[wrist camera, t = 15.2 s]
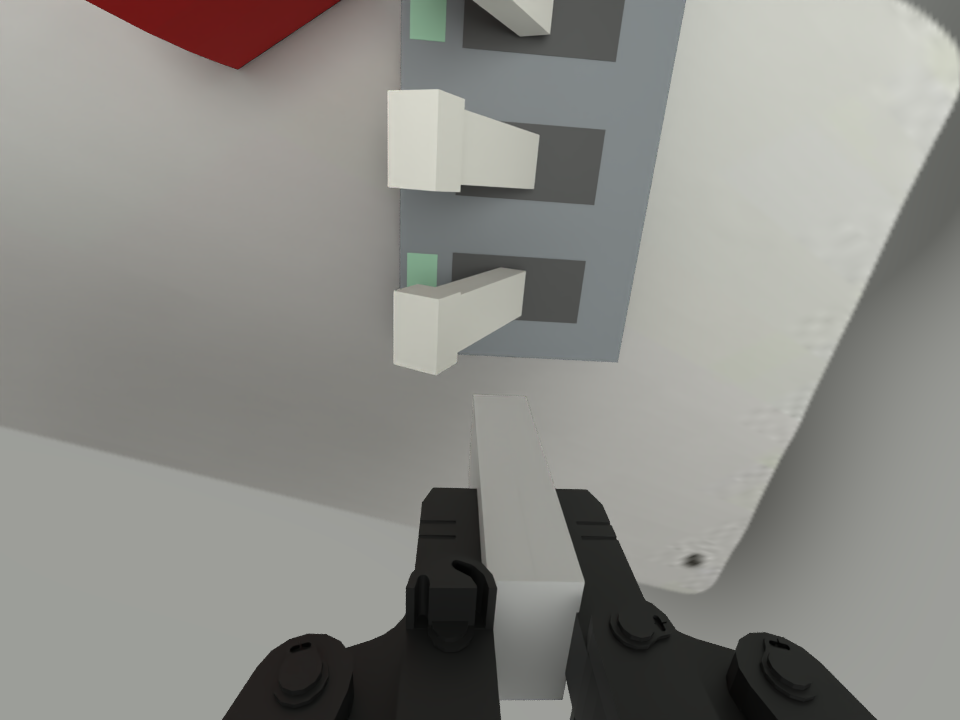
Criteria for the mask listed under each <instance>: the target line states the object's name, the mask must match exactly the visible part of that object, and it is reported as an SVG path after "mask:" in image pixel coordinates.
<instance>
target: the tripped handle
mask: <svg viewBox="0 0 960 720" xmlns="http://www.w3.org/2000/svg"><path fill="white" fill-rule="evenodd" d="M525 276H526V271H523V270H516V269H509V268H503V267H500V268H497V269H493V270H490V271H487V272H483V273H480V274H477V275H474V276H470V277H467V278H464V279H461V280H457V281H454V282H451V283H447V284H444V285H441V286H438V287H432V286H426V285H421V284H416V285H413V286H409V287H405V288H402V289H398V290H394V303H393V364H394V365H398V366H402V367H406V368H409V369H413V370H417V371H421V372H424V373H428V374H432V375H438V374H440V373H441V372H443V371H444V370H446V369H448V368H449V367H451V366H452V365H454V364H456V363H457V353H458V352H459V351H461V350H463V349H465V348H466V347H468V346H470V345H471V344H473V343H475V342H477V341H478V340H480V339H482V338H484V337H485V336H487V335H489V334H490V333H492V332H494V331H496V330H497V329H499V328H501V327H502V326H504V325H506V324H508V323H509V322H511V321H513V320H515V319H516V318H518V317H520V316H521V314H522V305H523V295H524V285H525Z"/></svg>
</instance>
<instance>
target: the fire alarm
mask: <svg viewBox="0 0 960 720" xmlns="http://www.w3.org/2000/svg"><path fill="white" fill-rule="evenodd" d="M86 1H88V2H90V3H92V4H94V5H96V6H97V7H99V8H101V9H103V10H105V11H107V12H109V13H111V14H113V15H115V16H117V17H119V18H121V19H122V20H124V21H126V22H128V23H130V24H132V25H134V26H136V27H138V28H140V29H142V30H144V31H146V32H148V33H150V34H152V35H154V36H157V37H159V38H161V39H163V40H165V41H168V42H170V43H172V44H174V45H176V46H179V47H181V48H183V49H185V50H187V51H190V52H192V53H195V54H197V55H200V56H202V57H205V58H207V59H210V60H213V61H215V62H218V63H221V64H224V65H226V66H229V67H232V68H235V69H239V68H241V67H242V66H244V65H245V64H247V63H248V62H249V61H251V60H252V59H254V58H255V57H257V56H258V55H260V54H261V53H263V52H264V51H266V50H267V49H269V48H270V47H272V46H273V45H275V44H276V43H278V42H279V41H281V40H282V39H284V38H285V37H287V36H288V35H290V34H291V33H293V32H294V31H296V30H297V29H299V28H300V27H302V26H303V25H305V24H306V23H308V22H309V21H311V20H312V19H314V18H315V17H317V16H318V15H320V14H321V13H323V12H324V11H326V10H327V9H329V8H330V7H332V6H333V5H334V4H336V3H337V2H339V1H340V0H86Z"/></svg>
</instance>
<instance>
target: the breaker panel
mask: <svg viewBox="0 0 960 720" xmlns="http://www.w3.org/2000/svg"><path fill="white" fill-rule="evenodd" d="M685 3H686V0H554V1H553V11H552V21H551V30H550V34H549V35H535V36H521V37H520V36H519V35H517V34H516V33H515V32H513V31H512V30H511V29H509V28H508V27H507V26H506V25H504V24H503V23H502V22H500V21H499V20H498V19H496V18H495V17H494V16H492V15H491V14H490V13H489V12H487V11H486V10H485V9H483V8H482V7H481V6H479V5H478V4H477V3H475V2H474V1H473V0H401V90H426V89H440V90H442V91H445V92H447V93H450V94H453V95H455V96H458V97H461V98H463V99H465V109H464V110H467V111H470V112H473V113H476V114H479V115H482V116H485V117H488V118H491V119H494V120H497V121H500V122H503V123H506V124H509V125H512V126H515V127H517V128H520V129H523V130H526V131H529V132H532V133H535V134H538V135H540V136H539V146H538V155H537V165H536V175H535V184H534V189H522V188H505V187H489V186H473V185H461V188H460V192H441V191H426V190H415V189H403V188H400V289H402V288H405V287H409V286H413V285H416V284H421V285H426V286H432V287H438V286H441V285H444V284H447V283H451V282H454V281H457V280H461V279H464V278H467V277H470V276H474V275H477V274H480V273H483V272H487V271H490V270H493V269H497V268H500V267H503V268H509V269H516V270H523V271H526V276H525V285H524V295H523V305H522V314H521V316H520V317H518V318H516V319H515V320H513V321H511V322H509V323H508V324H506V325H504V326H502V327H501V328H499V329H497V330H496V331H494V332H492V333H490V334H489V335H487V336H485V337H484V338H482V339H480V340H478V341H477V342H475V343H473V344H471V345H470V346H468V347H466V348H465V349H463V350H461V351H459V352H458V353H457V354H463V355H483V356H503V357H522V358H542V359H562V360H582V361H601V362H618V358H619V352H620V347H621V342H622V337H623V331H624V326H625V321H626V315H627V310H628V305H629V300H630V294H631V289H632V284H633V278H634V273H635V268H636V262H637V257H638V252H639V247H640V241H641V236H642V231H643V225H644V220H645V215H646V209H647V204H648V199H649V194H650V188H651V183H652V178H653V172H654V167H655V162H656V157H657V151H658V146H659V141H660V135H661V130H662V125H663V119H664V114H665V109H666V104H667V98H668V93H669V88H670V82H671V77H672V72H673V67H674V61H675V56H676V51H677V45H678V40H679V35H680V29H681V24H682V19H683V14H684V8H685Z"/></svg>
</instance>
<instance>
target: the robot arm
mask: <svg viewBox="0 0 960 720" xmlns="http://www.w3.org/2000/svg"><path fill="white" fill-rule="evenodd" d="M566 681H567V685H568V690H569V694H570V699H571V703H572V712H571V717H570V720H877V719H876V718H875V717H874V716H873V715H872V714H871V713H870V712H869V711H868V710H867V709H866V708H865V707H864V706H863V705H862V704H861V703H860V702H859V701H858V700H857V699H856V698H855V697H854V696H853V695H852V694H851V693H850V692H849V691H848V690H847V689H846V688H845V687H844V686H843V685H842V684H841V683H840V682H839V681H838V680H837V679H836V678H835V677H834V676H833V675H832V674H831V673H830V672H829V671H828V670H827V669H826V668H825V667H824V666H823V665H822V664H821V663H820V662H819V661H818V660H817V659H815V658H814V657H813V656H812V655H811V654H809V653H808V652H807V651H806V650H805V649H803V648H802V647H800V646H798V645H796V644H794V643H793V642H791V641H789V640H787V639H785V638H783V637H780V636H776V635H773V634H769V633H765V632H763V633H749V634H747V635H746V636H744V637H743V638H741V639H740V640H739V642H738V645H737V647H736V650H732V649H729V648H725V647H722V646H719V645H716V644H712V643H709V642H705V641H702V640H698V639H695V638H693V637H690V636H688V635H685V634H683V633H681V632H679V631H677V630H676V629H675V627H674V626H673V625H672V623H671V622H670V620H669V619H668V617H667V616H666V615H665V614H664V613H663V612H662V611H660V610H659V609H658V608H657V607H656V606H654V605H653V604H652V603H650V602H648V601H646V600H645V599H644V597H643V595H642V593H641V591H640V588H639V586H638V584H637V581H636V579H635V577H634V575H633V572H632V570H631V568H630V566H629V563H628V561H627V559H626V557H625V555H624V552H623V550H622V548H621V546H620V543H619V541H618V540H617V539H616V534H615V532H614V530H613V528H612V525H610V521H609V519H608V516H607V514H606V512H605V510H604V508H603V505H602V504H601V503H600V502H599V501H598V500H597V499H596V498H595V497H594V496H593V495H592V494H591V493H590V492H589V491H588V490H583V489H555V487H554V484H553V480H552V477H551V474H550V471H549V468H548V465H547V462H546V458H545V455H544V452H543V449H542V446H541V443H540V439H539V436H538V433H537V430H536V427H535V424H534V421H533V417H532V414H531V411H530V408H529V405H528V402H527V399H526V396H510V395H482V394H474V395H473V411H472V427H471V443H470V459H469V488H432V490H431V491H430V492H429V494H428V495H427V497H426V498H425V499H424V501H423V502H422V509H421V518H420V527H419V538H418V546H417V555H416V564H415V570H414V571H413V572H412V574H411V576H410V578H409V581H408V584H407V586H406V614H405V616H404V617H403V619H402V620H401V621H400V622H399V623H398V624H397V625H396V626H395V627H394V628H393V629H391V630H390V631H388V632H387V633H386V634H384V635H382V636H379V637H377V638H375V639H373V640H370V641H367V642H364V643H360V644H357V645H354V646H351V647H348V648H345V646H344V645H343V644H342V642H341V641H339V640H337V639H335V638H333V637H331V636H328V635H327V634H306V635H302V636H299V637H296V638H292V639H289V640H288V641H286V642H285V643H283V644H281V645H280V646H278V647H277V648H275V649H274V650H272V651H271V652H270V653H269V654H268V655H267V656H266V658H265V659H264V660H263V661H262V662H261V663H260V664H259V665H258V667H257V668H256V670H255V671H254V672H253V674H252V675H251V677H250V678H249V680H248V682H247V683H246V684H245V686H244V687H243V689H242V690H241V692H240V694H239V695H238V697H237V698H236V699H235V701H234V703H233V704H232V706H231V707H230V709H229V710H228V712H227V713H226V715H225V716H224V718H223V719H222V720H501V716H500V705H499V704H500V703H499V700H562V699H563V694H564V689H565V683H566Z"/></svg>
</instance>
